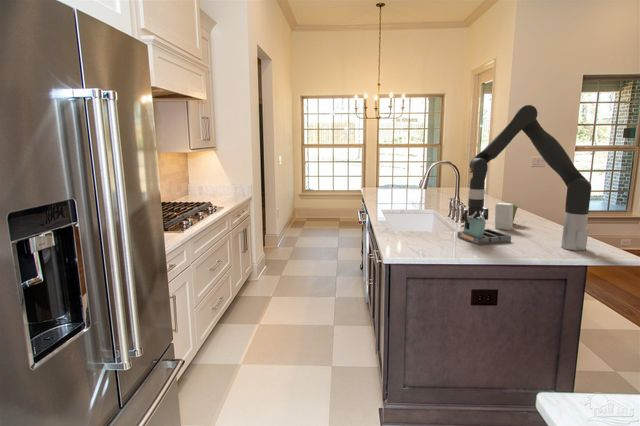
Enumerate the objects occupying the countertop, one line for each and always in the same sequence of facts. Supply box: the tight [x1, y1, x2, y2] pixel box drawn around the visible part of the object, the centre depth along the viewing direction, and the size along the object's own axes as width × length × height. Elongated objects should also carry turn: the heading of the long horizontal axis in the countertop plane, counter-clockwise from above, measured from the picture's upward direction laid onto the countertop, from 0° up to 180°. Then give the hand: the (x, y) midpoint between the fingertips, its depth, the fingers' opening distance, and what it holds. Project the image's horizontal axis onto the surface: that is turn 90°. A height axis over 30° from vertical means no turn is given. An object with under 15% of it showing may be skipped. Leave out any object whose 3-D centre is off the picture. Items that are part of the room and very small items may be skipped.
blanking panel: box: [462, 214, 487, 238], centre depth 203 cm, size 12×3×10 cm, turn 16°
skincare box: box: [494, 202, 514, 231], centre depth 227 cm, size 8×6×15 cm
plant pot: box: [513, 204, 520, 222], centre depth 241 cm, size 12×12×11 cm
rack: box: [457, 228, 512, 246], centre depth 205 cm, size 17×20×3 cm
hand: (474, 228), depth 203 cm, fingers open, 8 cm apart
